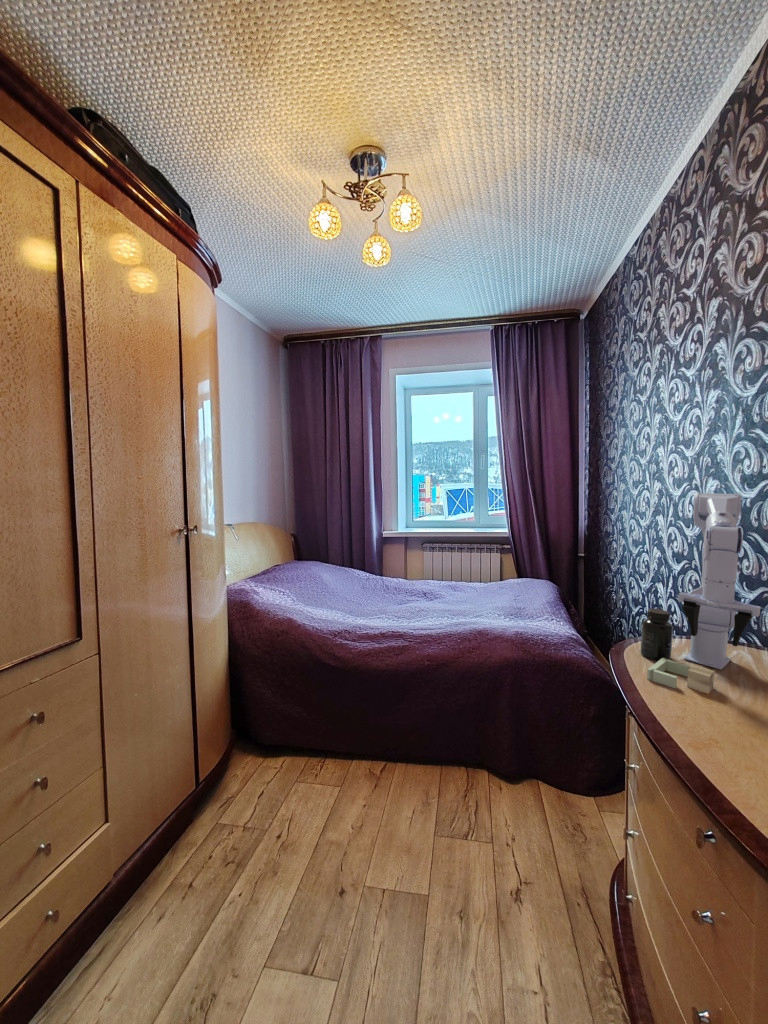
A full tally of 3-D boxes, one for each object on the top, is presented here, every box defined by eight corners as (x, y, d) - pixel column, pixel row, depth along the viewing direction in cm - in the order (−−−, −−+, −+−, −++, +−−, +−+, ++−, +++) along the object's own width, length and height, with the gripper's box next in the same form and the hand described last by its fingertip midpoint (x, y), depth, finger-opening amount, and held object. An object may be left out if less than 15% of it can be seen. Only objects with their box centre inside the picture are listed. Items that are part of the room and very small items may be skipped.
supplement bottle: (675, 663, 112) (679, 616, 111) (645, 660, 114) (649, 614, 113) (664, 652, 119) (667, 608, 118) (636, 649, 120) (639, 606, 119)
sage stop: (661, 667, 110) (662, 657, 110) (688, 675, 106) (689, 665, 106) (647, 679, 103) (647, 669, 103) (674, 688, 99) (675, 678, 99)
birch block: (692, 681, 103) (693, 665, 102) (713, 688, 100) (714, 671, 99) (686, 687, 100) (688, 670, 100) (708, 694, 97) (709, 676, 97)
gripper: (676, 576, 102) (671, 634, 103) (757, 589, 91) (751, 654, 92) (685, 572, 107) (681, 628, 108) (764, 584, 96) (758, 646, 97)
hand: (714, 639), depth 100 cm, fingers open, 7 cm apart
